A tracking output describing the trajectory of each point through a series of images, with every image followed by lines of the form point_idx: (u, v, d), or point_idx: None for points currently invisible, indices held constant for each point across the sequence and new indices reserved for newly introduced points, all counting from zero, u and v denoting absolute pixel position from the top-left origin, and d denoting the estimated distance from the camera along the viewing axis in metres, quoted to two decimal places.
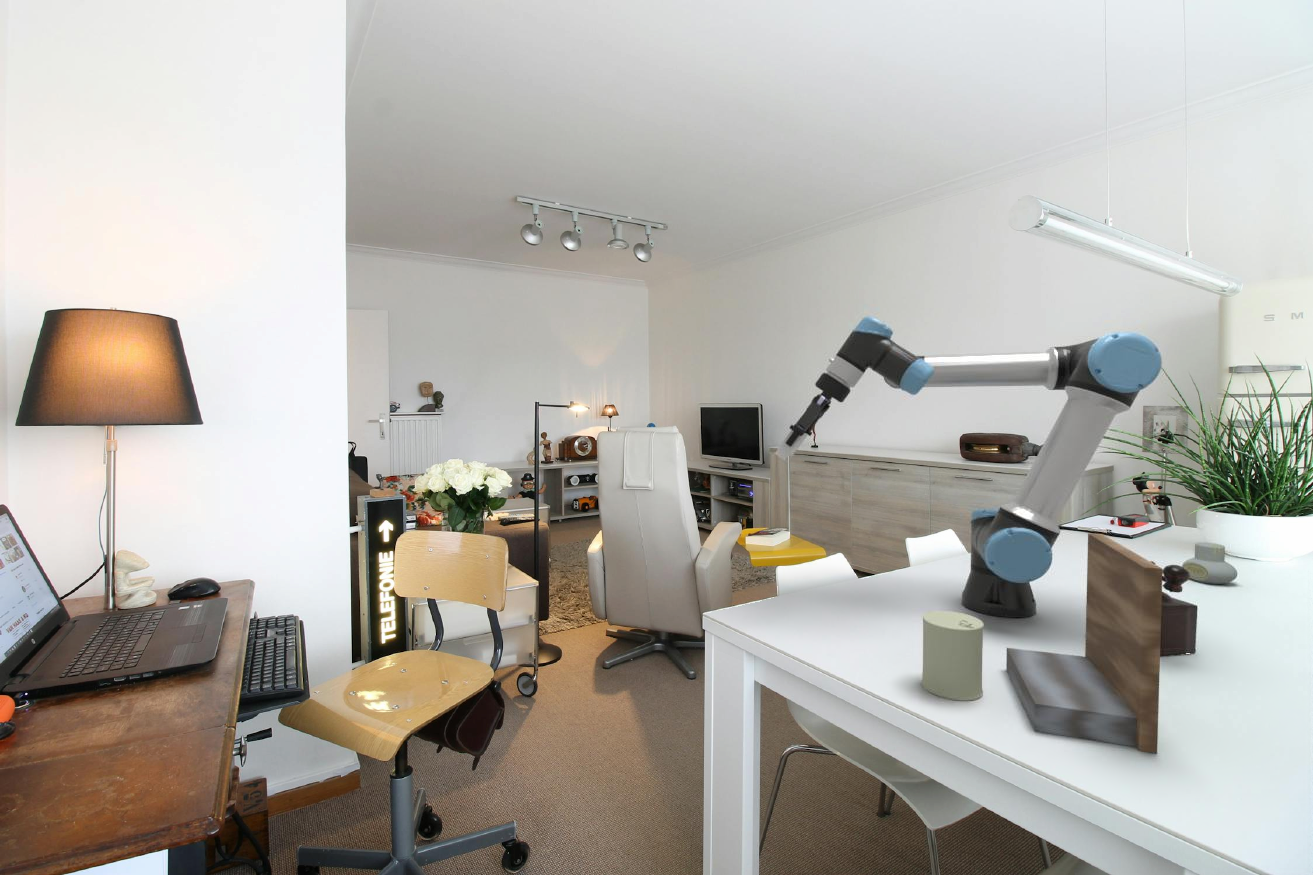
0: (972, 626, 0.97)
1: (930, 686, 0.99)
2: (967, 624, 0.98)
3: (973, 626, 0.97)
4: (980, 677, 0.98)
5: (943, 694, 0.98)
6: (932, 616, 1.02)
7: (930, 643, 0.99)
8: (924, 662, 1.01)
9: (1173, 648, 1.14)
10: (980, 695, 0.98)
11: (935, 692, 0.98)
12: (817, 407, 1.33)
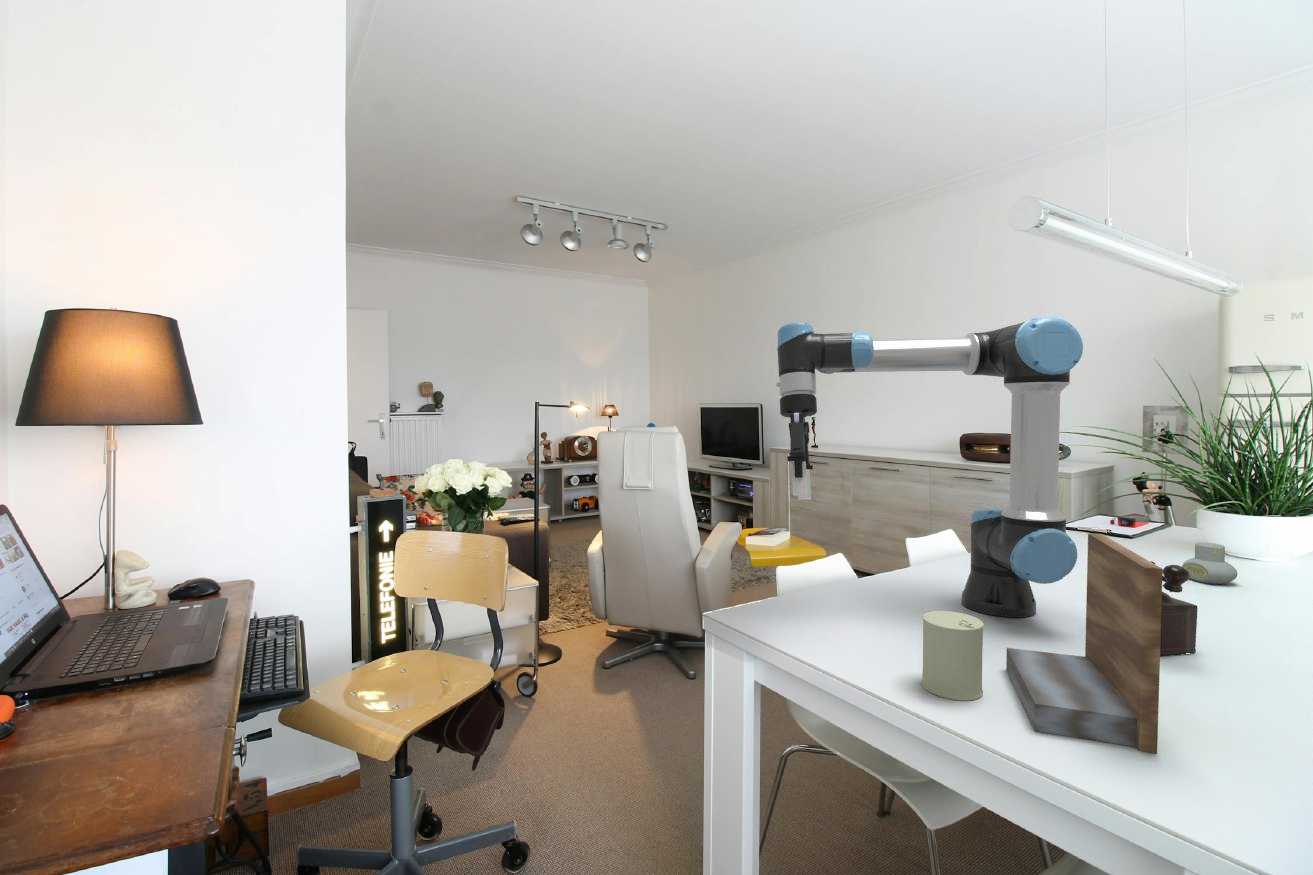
0: (972, 626, 0.97)
1: (930, 685, 0.99)
2: (967, 624, 0.98)
3: (973, 626, 0.97)
4: (980, 677, 0.98)
5: (943, 694, 0.98)
6: (932, 616, 1.02)
7: (930, 643, 0.99)
8: (924, 662, 1.01)
9: (1173, 648, 1.14)
10: (980, 695, 0.98)
11: (935, 692, 0.98)
12: (798, 424, 1.19)
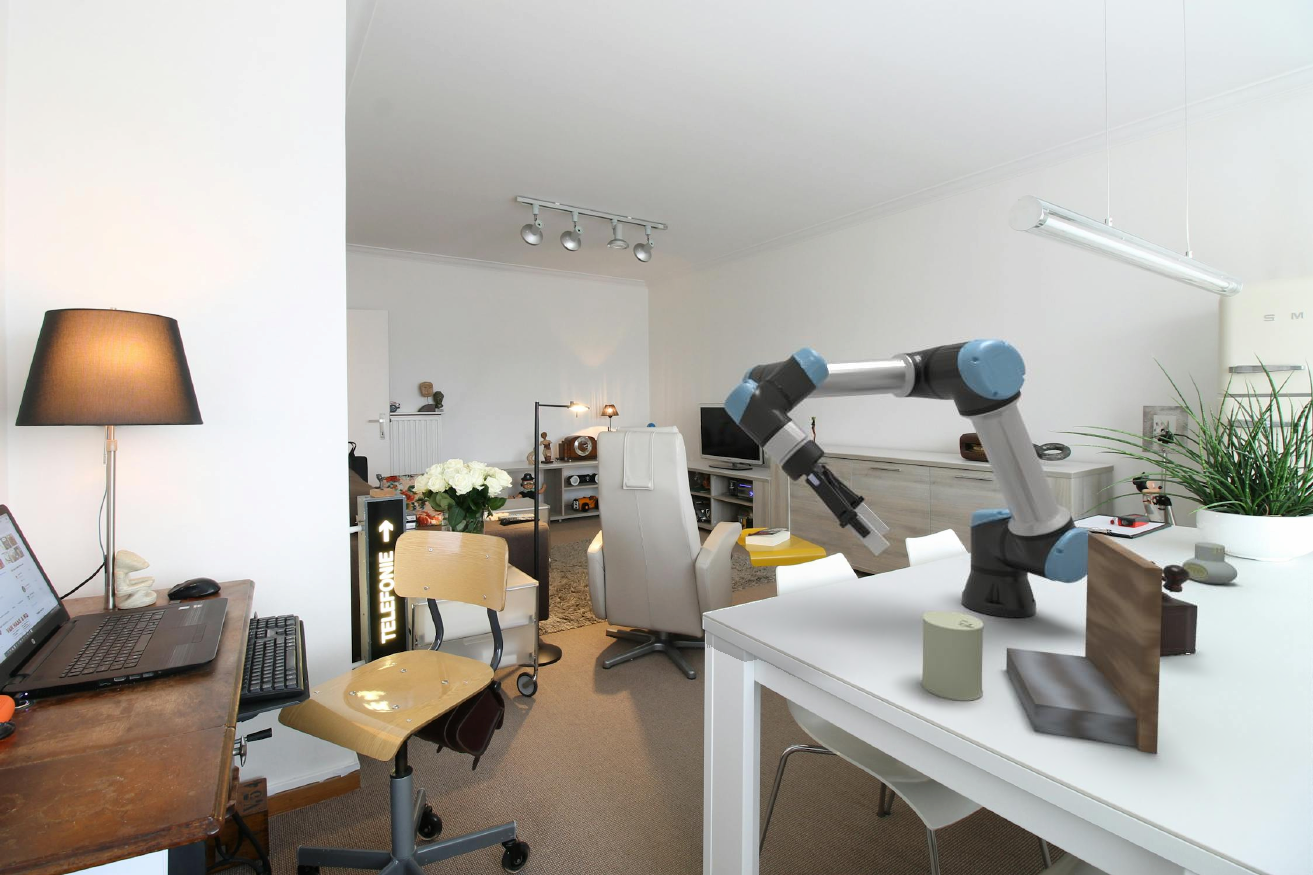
0: (972, 626, 0.97)
1: (930, 685, 0.99)
2: (967, 624, 0.98)
3: (973, 626, 0.97)
4: (980, 677, 0.98)
5: (943, 694, 0.98)
6: (932, 616, 1.02)
7: (930, 643, 0.99)
8: (924, 662, 1.01)
9: (1173, 648, 1.14)
10: (980, 695, 0.98)
11: (935, 692, 0.98)
12: (822, 485, 1.00)
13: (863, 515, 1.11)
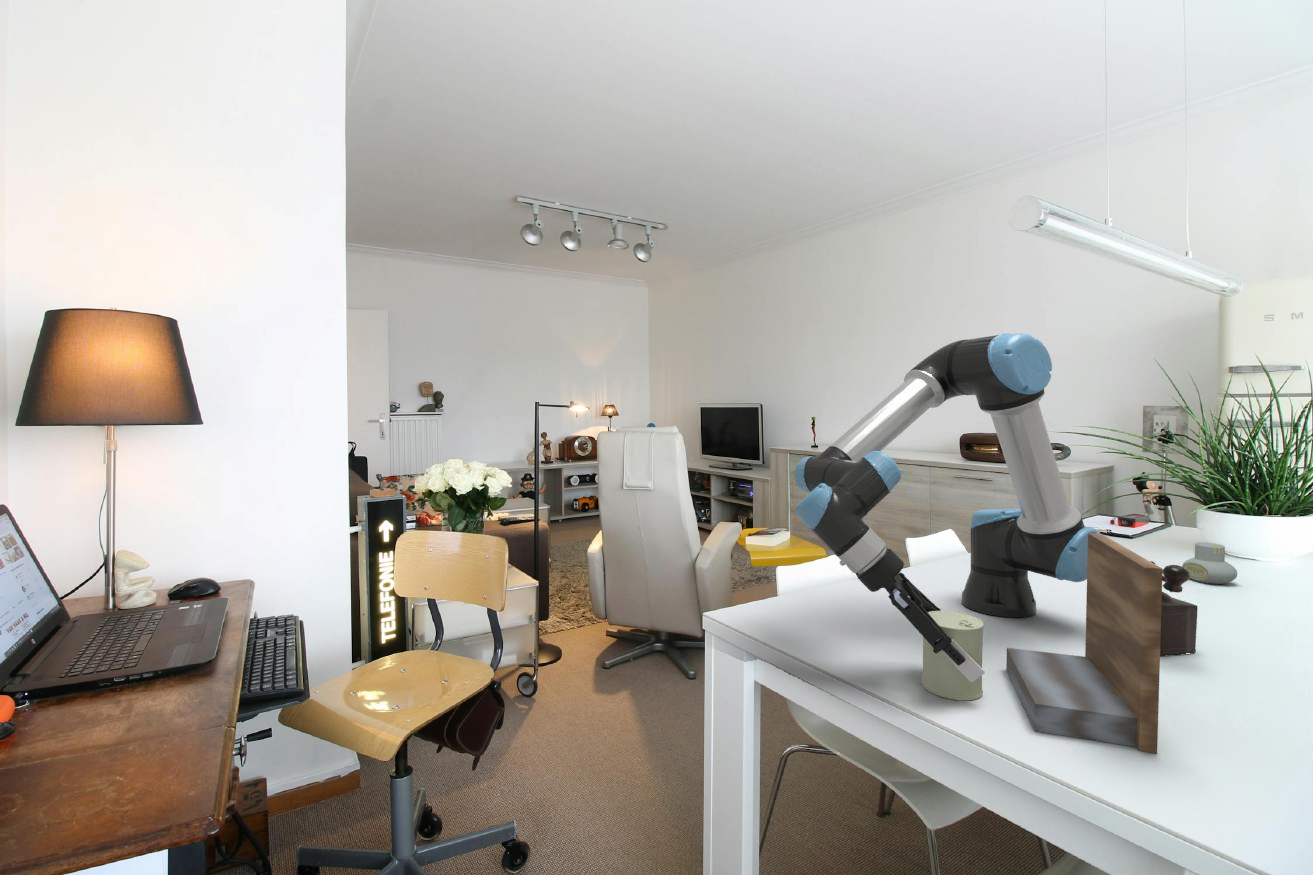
0: (972, 626, 0.97)
1: (930, 685, 0.99)
2: (967, 624, 0.98)
3: (973, 626, 0.97)
4: (980, 677, 0.98)
5: (943, 694, 0.98)
6: (932, 616, 1.02)
7: None
8: (924, 662, 1.01)
9: (1173, 648, 1.14)
10: (980, 695, 0.98)
11: (935, 692, 0.98)
12: (911, 609, 0.96)
13: None
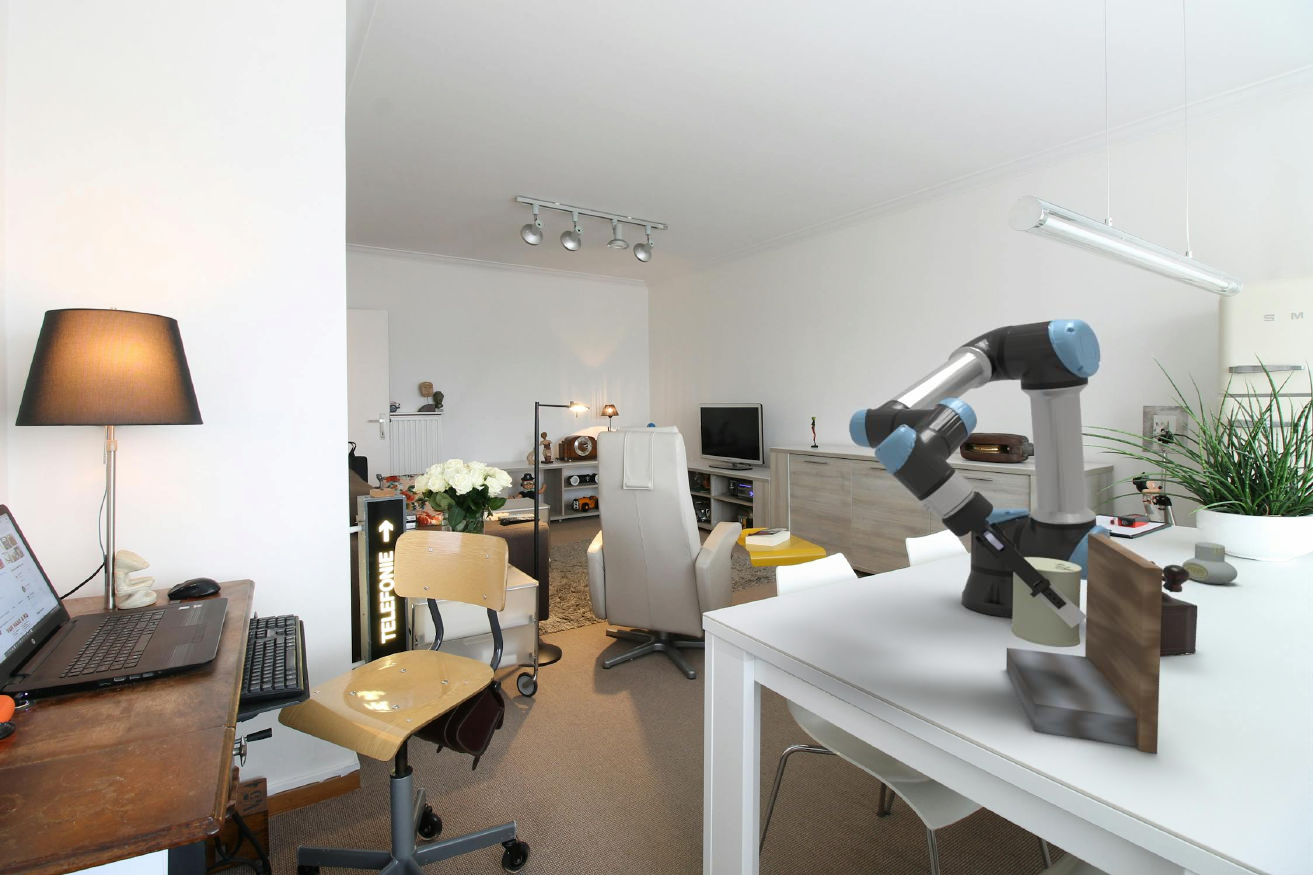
0: (1070, 569, 0.92)
1: (1024, 633, 0.94)
2: (1065, 567, 0.93)
3: (1071, 569, 0.92)
4: (1078, 623, 0.93)
5: (1039, 641, 0.92)
6: None
7: (1024, 588, 0.94)
8: (1016, 609, 0.96)
9: (1173, 648, 1.14)
10: (1078, 642, 0.92)
11: (1030, 639, 0.93)
12: (1007, 550, 0.91)
13: None
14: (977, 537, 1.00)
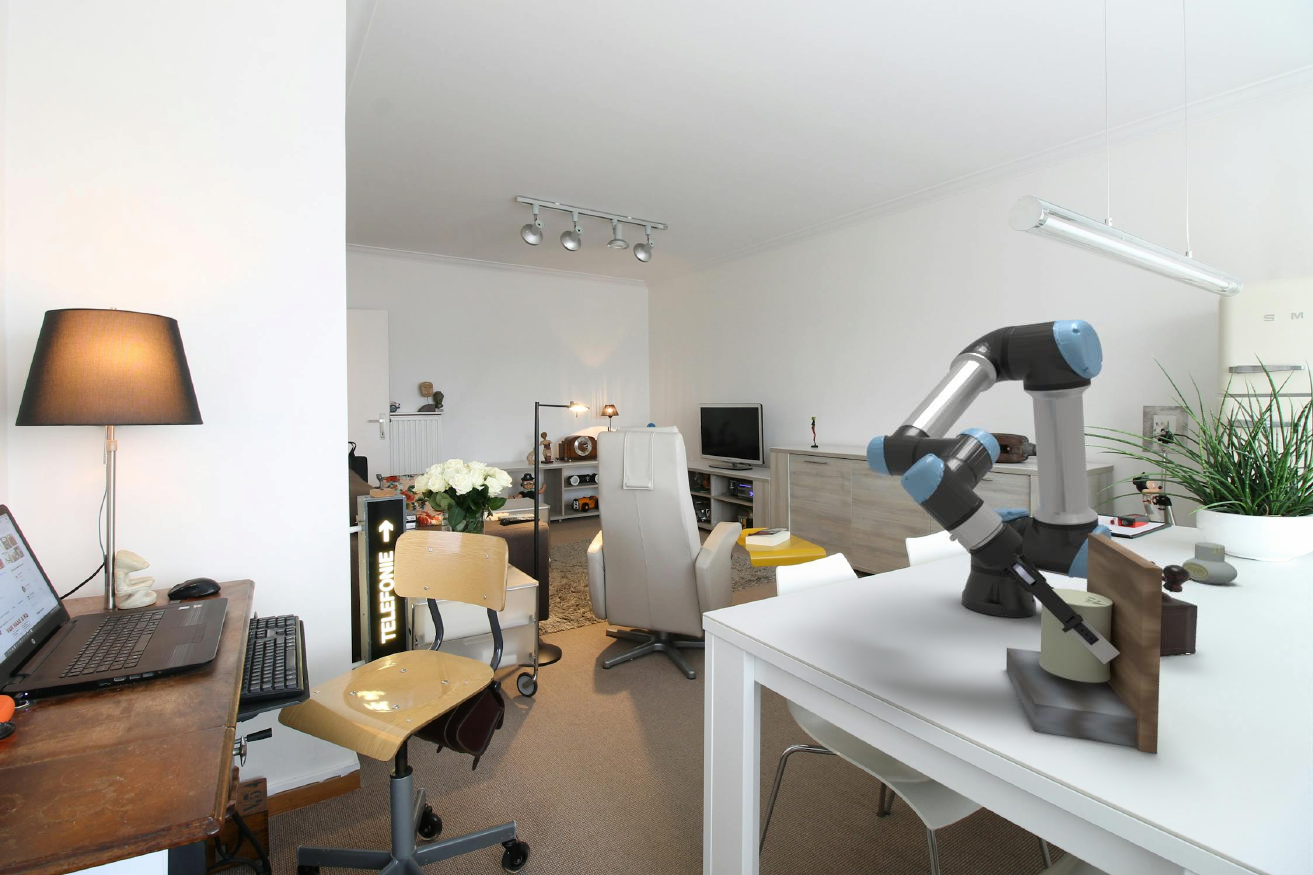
0: (1102, 603, 0.91)
1: (1053, 667, 0.93)
2: (1096, 601, 0.91)
3: (1103, 603, 0.91)
4: None
5: (1070, 676, 0.91)
6: None
7: (1054, 622, 0.93)
8: (1045, 642, 0.95)
9: (1173, 648, 1.14)
10: (1109, 677, 0.91)
11: (1060, 674, 0.92)
12: (1038, 585, 0.90)
13: None
14: (1005, 568, 0.98)
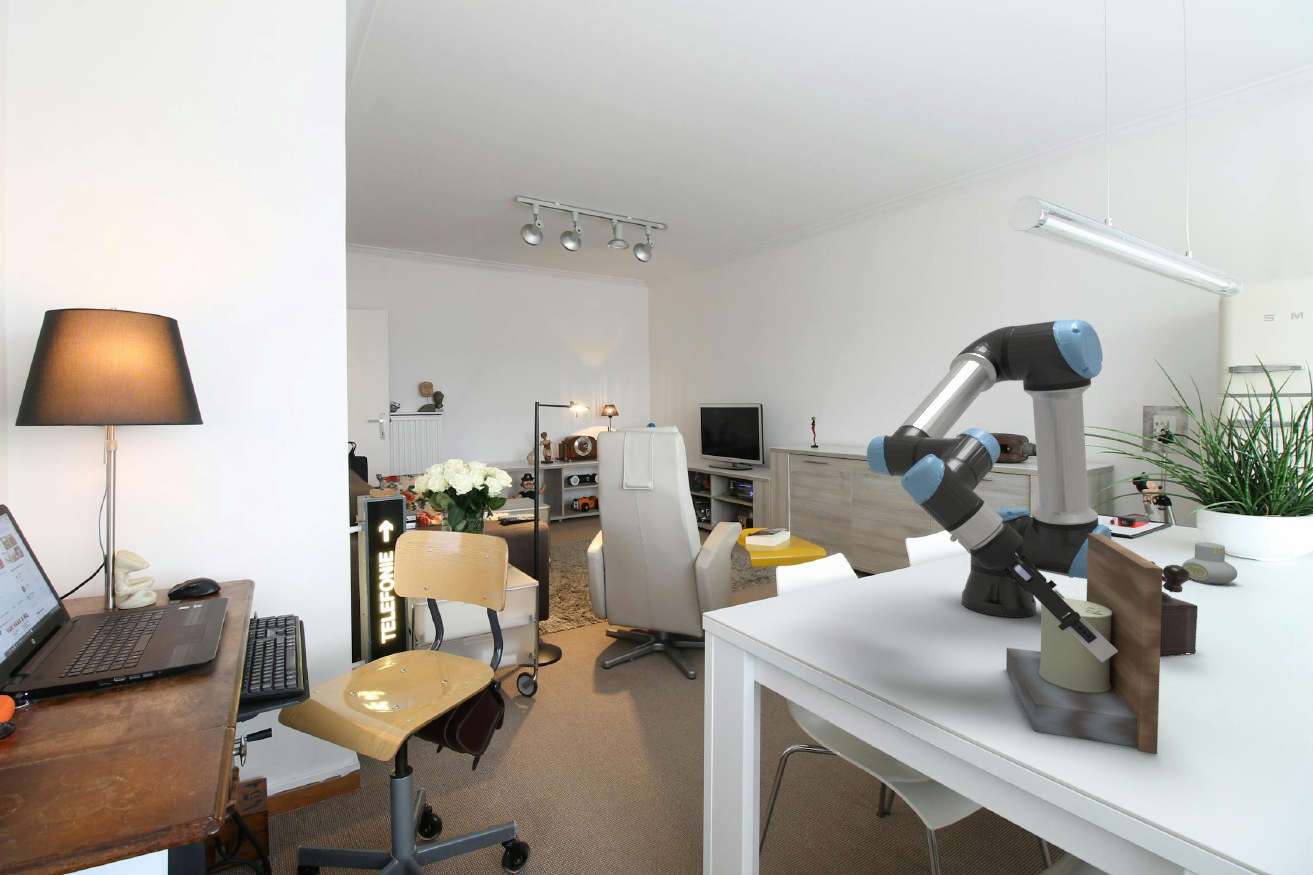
0: (1101, 613, 0.91)
1: (1053, 677, 0.93)
2: (1095, 611, 0.91)
3: (1102, 613, 0.91)
4: (1109, 668, 0.91)
5: (1070, 686, 0.91)
6: None
7: (1053, 632, 0.93)
8: (1044, 652, 0.95)
9: (1173, 648, 1.14)
10: (1109, 687, 0.91)
11: (1060, 684, 0.92)
12: (1035, 581, 0.90)
13: None
14: (1006, 569, 0.98)
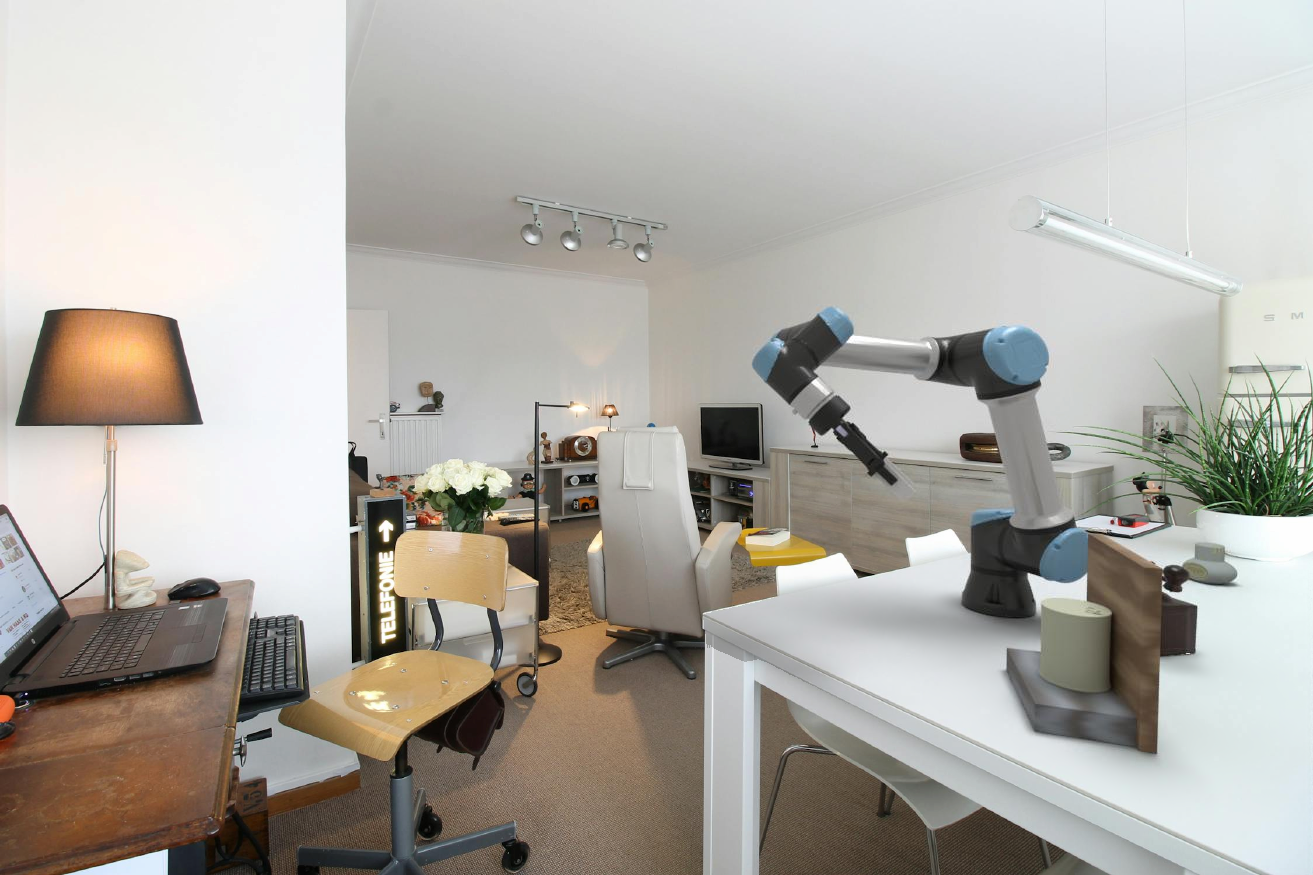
0: (1101, 613, 0.91)
1: (1053, 677, 0.93)
2: (1095, 611, 0.91)
3: (1102, 613, 0.91)
4: (1109, 668, 0.91)
5: (1070, 686, 0.91)
6: (1051, 604, 0.96)
7: (1053, 632, 0.93)
8: (1044, 652, 0.95)
9: (1173, 648, 1.14)
10: (1109, 687, 0.91)
11: (1060, 684, 0.92)
12: (850, 436, 1.04)
13: None
14: None
